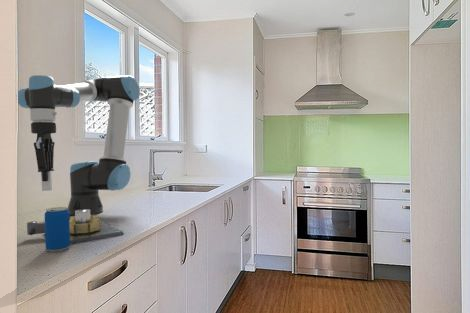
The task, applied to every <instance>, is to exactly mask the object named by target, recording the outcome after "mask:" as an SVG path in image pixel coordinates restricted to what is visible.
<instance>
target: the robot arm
mask: <svg viewBox="0 0 470 313" xmlns="http://www.w3.org/2000/svg"><path fill="white" fill-rule="evenodd" d="M17 93H18V102H17V103H18V105H19V106H20V107H22V108H23V109H29V113H30V114H29V115H30V121H31V123H30V132H31V134H36V140H35V142H33V147H34V152H35V157H36V158H35V159H36V162H37V169H38V170H37V172H38V173H40V177H41V178H40V179H41V192H48V191H52V190H53V185H52V183H53V182H52V181H53V180H52V172H54V171H55V169H54V157H55V156H54V153H55V152H54V150H55V141H53V138H52V134H56V133H57V124H56V115H58V113H57V112H56V108H67V109H68V108H75V107H77V106H78V105H79V104H80V102H81V101H85V102H107V104H108V105H109V112H108V119H107V128H106V135H105V141H104V148H103V149H104V150H103V155H102V156H101V157H100V158H99V160H98V161H97V160H92V161H90V160H89V161H82V162H76V163H73V164H71V166H70V169H69V171H70V172H69V182H70V198H69V202H68V205H67V207H66V208H67V210H68V211H69V216H75V211H77V210H83V209H89V210H90V215H98V214H100V213H102V212H104V205H103V204H102V201H101V197H100V195H99V191H122V190H123V189H125V188H126V187H127V186H128V185H129V183H130V180H131V168H130V166H129V165H128V164H127V161H126V160H125V157H124V153H125V148H126V147H125V146H126V139H127V130H128V124H129V113H130V109H131V108H132V107H133V106H134V101H137V100H138V99H139V98H140V94H141V92H140V87H139V83H138V82H137V80H136V78H135V77H134V76H132V75H129V74H128V75H126V74H125V75H124V74H121V75H114V76H113V75H112V76H101V77H100V76H99V77H97V78H93V79H86V80H82V81H80V82H78V83H70V84H69V83H68V84H59V85H58V84H55V81H54V78H53V77H52V76H49V75H43V74H41V75H39V74H38V75H31V76H30V77H29V78H28V87H26V88H20V89H19V90H18V91H17Z"/></svg>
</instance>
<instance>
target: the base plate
mask: <svg viewBox="0 0 470 313" xmlns="http://www.w3.org/2000/svg"><path fill="white" fill-rule="evenodd" d="M91 215H92V214H91ZM91 215H90V210H89V209H83V210H77V211H75V215H74V216H75V220H76V224H81V223H89V222H88V219H91ZM100 222H101V228H100V229H99V230H96V231H93V232H88V233H78V234H76V233H74V234H72V233H70V245H73V244H78V243H85V242H91V241H96V240H101V239H108V238H113V237H118V236H122V235H124V231H123V230H121V229H120V228H117V227H116V226H113V225H111V224H109V223H106V222H104V221H100Z"/></svg>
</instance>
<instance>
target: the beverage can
mask: <svg viewBox="0 0 470 313" xmlns="http://www.w3.org/2000/svg"><path fill="white" fill-rule="evenodd" d="M67 208H68V207H64V206H63V207H62V206H61V207H60V206H57V207H51V208H47V209H45V213H44V222H45V233H44V239H45V244H44V245H45V250H46V251H48V252H51V253H58V252H63V251H66V250H68V248H69V247H70V246H71V244H70V223H69V220H70V215H69V211H68V210H67Z"/></svg>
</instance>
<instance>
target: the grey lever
mask: <svg viewBox="0 0 470 313" xmlns="http://www.w3.org/2000/svg"><path fill="white" fill-rule="evenodd" d="M88 222H89V223H81V224H76V220H75V215H71V216H69V223H70V233H72V234H74V233H76V234H78V233H88V232H93V231H96V230H99V229H100V228H101V222H102V221H101V218H98V214H91V219H88ZM26 231H27V234H26V235H29V236H33V235H40V234H45V221H43V222H42V221H41V222H37V221H35V220H33V221H28V222H27V223H26Z"/></svg>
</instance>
